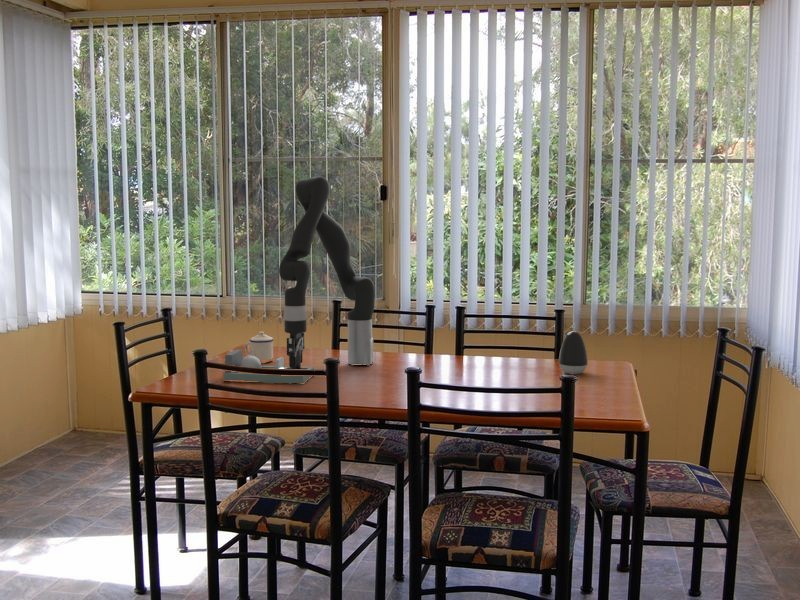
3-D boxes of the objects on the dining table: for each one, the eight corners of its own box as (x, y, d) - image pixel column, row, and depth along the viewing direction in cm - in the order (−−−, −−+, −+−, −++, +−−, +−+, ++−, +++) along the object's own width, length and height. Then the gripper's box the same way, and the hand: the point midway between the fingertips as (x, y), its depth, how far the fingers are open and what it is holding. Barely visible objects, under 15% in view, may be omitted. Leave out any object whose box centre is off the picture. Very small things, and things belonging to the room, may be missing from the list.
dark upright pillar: (303, 376, 290) (302, 345, 289) (298, 380, 284) (297, 348, 283) (280, 376, 292) (280, 344, 290) (275, 379, 285) (274, 347, 284)
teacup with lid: (277, 360, 324) (277, 330, 323) (267, 364, 315) (266, 334, 314) (250, 358, 328) (249, 329, 326) (238, 362, 319) (238, 332, 318)
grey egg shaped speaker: (577, 369, 305) (578, 328, 303) (592, 374, 295) (593, 332, 294) (553, 371, 302) (553, 329, 300) (567, 376, 292) (568, 334, 290)
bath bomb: (236, 380, 286) (236, 357, 285) (240, 375, 294) (240, 353, 293) (260, 380, 286) (259, 357, 285) (263, 375, 294) (263, 353, 293)
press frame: (314, 375, 294) (313, 350, 293) (303, 384, 280) (302, 358, 279) (238, 373, 298) (237, 348, 297) (223, 381, 284) (222, 355, 283)
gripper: (300, 321, 278) (301, 369, 279) (311, 316, 292) (311, 361, 293) (278, 321, 279) (279, 368, 281) (290, 315, 293) (291, 361, 295)
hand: (296, 365), depth 287 cm, fingers open, 8 cm apart
